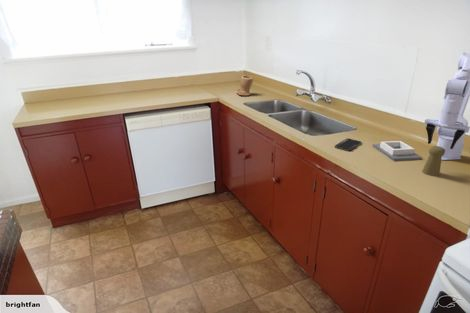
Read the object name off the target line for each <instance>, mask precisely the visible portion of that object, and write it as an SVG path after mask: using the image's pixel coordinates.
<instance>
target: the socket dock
mask: <svg viewBox="0 0 470 313" xmlns="http://www.w3.org/2000/svg"><path fill="white" fill-rule="evenodd" d="M372 147H373V148H374V149H376V150H378V151H379V152H380V153H381V154H383V155H385V156H386V157H387V158H389V159H390V160H392V161H393V162H394V161H395V162H397V161H413V160H414V161H415V160H421V159H422V156H421V155H419V154H417V153H415V148H414V147H412V146H411V145H409V144H406V143H405V142H403V141H401V140H392V141H390V140H389V141H380V143H373V144H372Z"/></svg>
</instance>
